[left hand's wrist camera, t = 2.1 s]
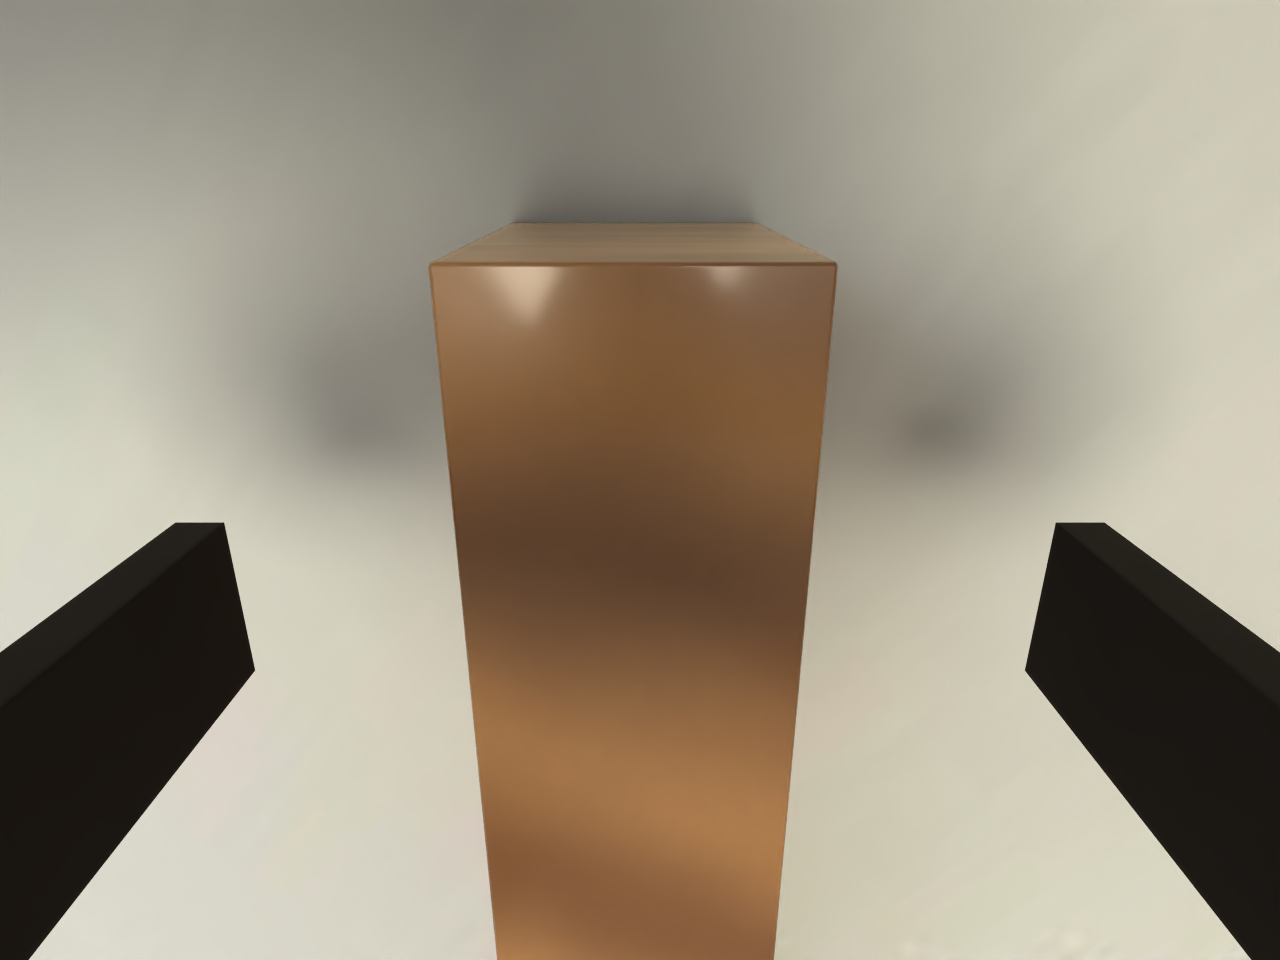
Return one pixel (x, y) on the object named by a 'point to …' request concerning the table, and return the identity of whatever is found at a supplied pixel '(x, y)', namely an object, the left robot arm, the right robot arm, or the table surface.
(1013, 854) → the table surface
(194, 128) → the table surface
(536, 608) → the beam
